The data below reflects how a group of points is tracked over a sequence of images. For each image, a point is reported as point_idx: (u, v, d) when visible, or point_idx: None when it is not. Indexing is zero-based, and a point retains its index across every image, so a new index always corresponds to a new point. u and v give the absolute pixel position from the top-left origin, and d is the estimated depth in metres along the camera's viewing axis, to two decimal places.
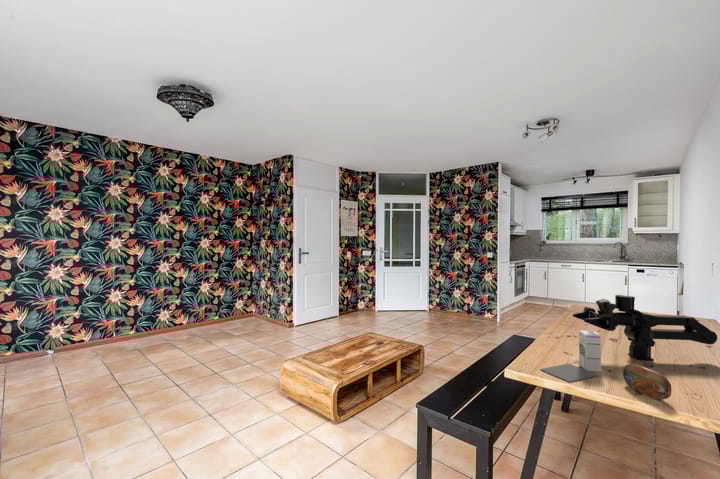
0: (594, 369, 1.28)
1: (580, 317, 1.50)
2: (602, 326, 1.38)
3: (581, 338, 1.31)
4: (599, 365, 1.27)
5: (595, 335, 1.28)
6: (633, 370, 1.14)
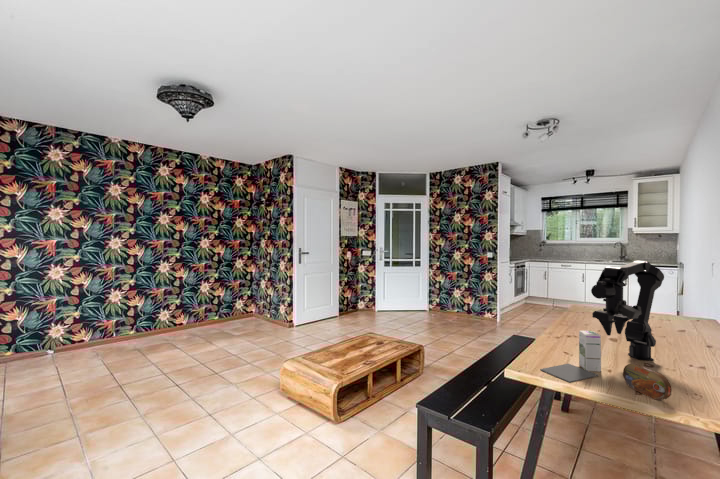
0: (594, 369, 1.28)
1: None
2: None
3: (581, 338, 1.31)
4: (599, 365, 1.27)
5: (595, 335, 1.28)
6: (633, 370, 1.14)
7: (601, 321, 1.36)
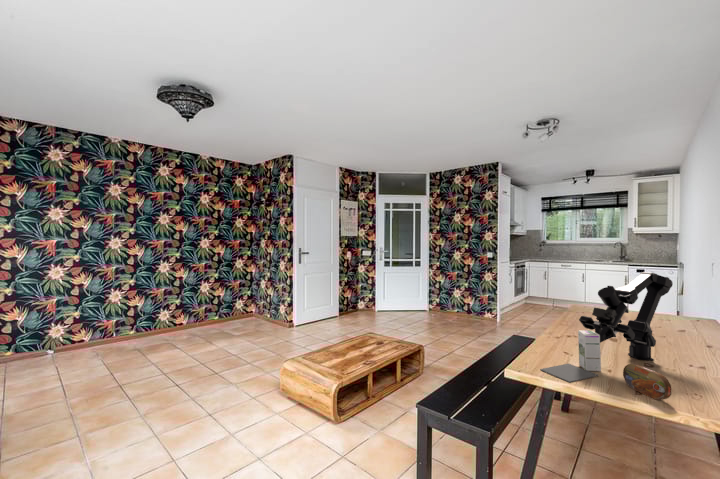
0: (594, 369, 1.28)
1: None
2: (611, 335, 1.32)
3: (580, 338, 1.31)
4: (599, 365, 1.27)
5: (594, 335, 1.28)
6: (633, 370, 1.14)
7: None
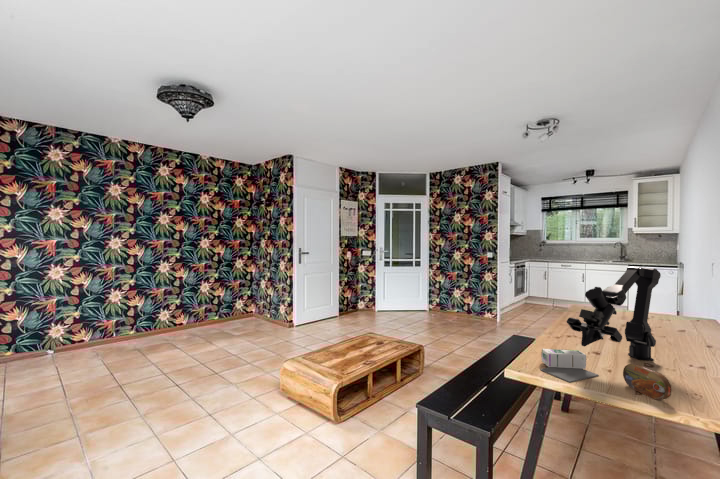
0: (584, 360, 1.29)
1: None
2: (598, 338, 1.29)
3: None
4: (579, 355, 1.29)
5: (548, 357, 1.31)
6: (633, 370, 1.14)
7: None
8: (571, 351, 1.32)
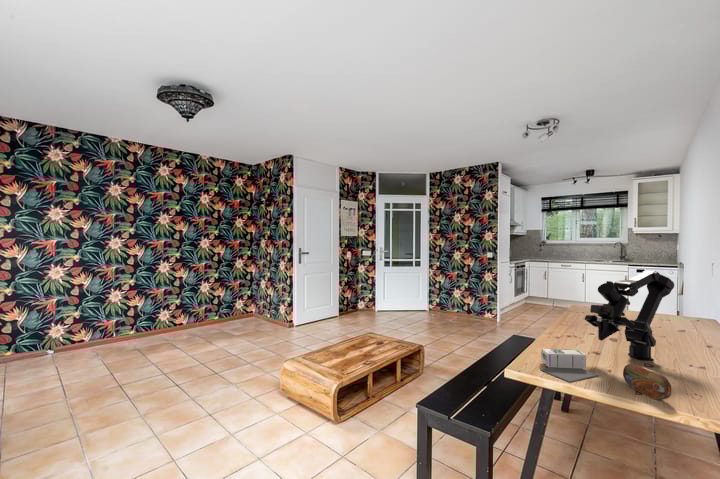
0: (584, 361, 1.29)
1: None
2: (614, 330, 1.32)
3: None
4: (579, 356, 1.29)
5: (548, 358, 1.31)
6: (633, 370, 1.14)
7: None
8: (571, 351, 1.32)
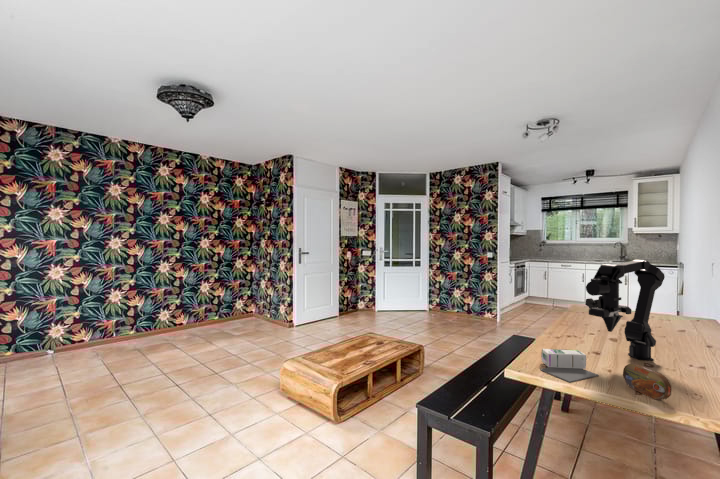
0: (584, 361, 1.29)
1: None
2: (611, 318, 1.34)
3: None
4: (579, 356, 1.29)
5: (548, 358, 1.31)
6: (633, 370, 1.14)
7: None
8: (571, 351, 1.32)
